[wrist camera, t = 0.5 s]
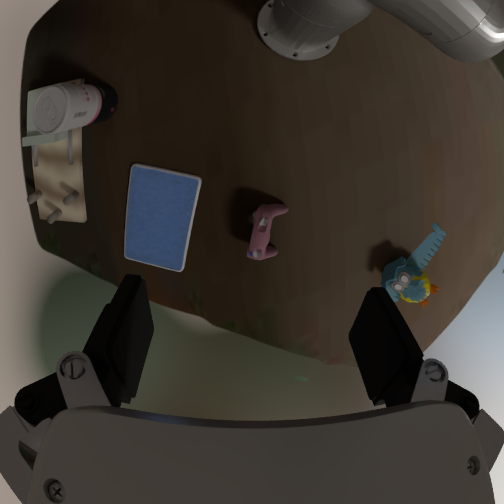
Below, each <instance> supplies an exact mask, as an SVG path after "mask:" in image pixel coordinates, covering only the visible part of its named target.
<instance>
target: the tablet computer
mask: <svg viewBox="0 0 504 504" xmlns="http://www.w3.org/2000/svg"><path fill="white" fill-rule="evenodd" d="M200 187H201V178H200V177H198V176H195V175H191V174H187V173H182V172H178V171H173V170H169V169H164V168H159V167H154V166H149V165H144V164H138V163H136V164H133V165H132V167H131V172H130V180H129V188H128V197H127V208H126V221H125V236H124V256H125V257H126V258H127V259H130V260H134V261H138V262H142V263H146V264H150V265H154V266H158V267H162V268H166V269H170V270H174V271H178V272H180V271H182V270H183V269H184V265H185V259H186V254H187V248H188V243H189V238H190V233H191V228H192V223H193V218H194V214H195V209H196V204H197V200H198V195H199V191H200Z"/></svg>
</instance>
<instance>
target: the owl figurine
mask: <svg viewBox="0 0 504 504" xmlns="http://www.w3.org/2000/svg"><path fill="white" fill-rule="evenodd" d="M431 227H432V228H433V229H434V230H435V232H433V233H431V234H430V235H429V236H428V237H427V238H426V239H425V240H424V241H423V242H422V244H421V245H420V246H419V247H418V248H417V249H416V250H415V251H414V252H413V253H412V254H411V255H410V256H409V257H408V259H407V260H406V259H405V258H403V257H400V258H399V259H397V260H395V261H393V262H391V263H389V264H387V265H386V266H385V268H384V270H383V274H382V281H381V284H380V286H382V287H384V288H385V289H386V290H387V292H388V293H389V295H390V296H391V298H392V300H393V301H394V302H398V300H399V299H398V298H402V299H404V300H405V301H408V302H420V303H421V305H422V306H423V307H424V303H425V304H426V305H428V302H427V300H426V297H427V296H429V294H430V291H431V292H432V293H434V294H437V292H436V290H439V288H438V287H437V286H435V285H433V284H430V282H429V279H428V277H427V275H426V274H425V272H424V271H423V270H424V269H425V267H424V266H423V265H425V266H426V265H428V262H427V261H426V260H425V259H427V260H428V261H430V260H431V256H434V254H435V252H434V251H433V250H435V251H437V250H438V247H437V246H436V245H438V246H440V245H441V242H440V241H439V240H441V241H443V240H444V237H443V236H442V235H441V233H442V234H443V235H444V236H445V235H446V232H445V231H442V230H441V228H440V227H439V226H438V224H437V223H434V224H433V225H432V226H431ZM437 238H438V239H439V240H438V239H437ZM434 243H435V244H436V245H435V244H434ZM432 249H433V250H432ZM429 254H430V255H431V256H430V255H429ZM424 258H425V259H424ZM405 260H406V261H405ZM421 263H422V264H423V265H422V264H421ZM386 283H387V284H388V285H387V284H386ZM395 296H396V297H395ZM397 297H398V298H397Z"/></svg>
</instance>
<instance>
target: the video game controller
mask: <svg viewBox="0 0 504 504" xmlns="http://www.w3.org/2000/svg"><path fill="white" fill-rule="evenodd" d="M287 211H288V207H287V206H286V205H283V204H269V205H266V206H259V207H258V209H257V211H255V212H254V213H253V218H254V222H253V223H254V227H253V231H252V235H251V240H250V245H249V247H248V250H247V257H249V258H252V259H256V260H262V259H265V258H269V257H273V256H275V255H276V254H277V253H278V250H277V249H276V248H274V247H272V246H267V244H268V242H269V240H270V228H271V224H272V220H273V217H275V216H277V215H280V214H284V213H286V212H287Z"/></svg>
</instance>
